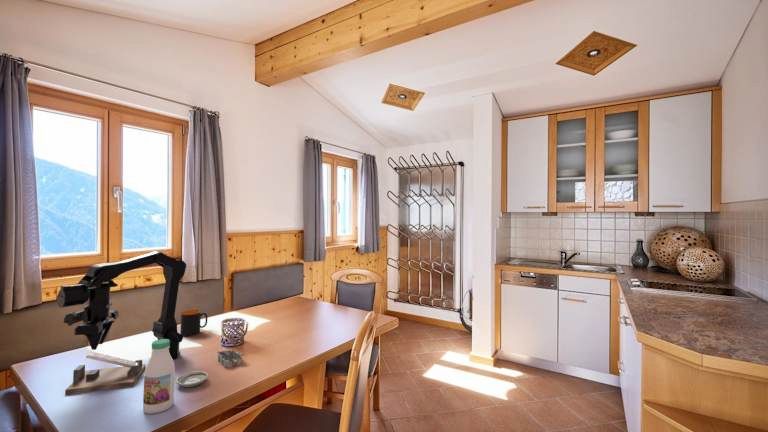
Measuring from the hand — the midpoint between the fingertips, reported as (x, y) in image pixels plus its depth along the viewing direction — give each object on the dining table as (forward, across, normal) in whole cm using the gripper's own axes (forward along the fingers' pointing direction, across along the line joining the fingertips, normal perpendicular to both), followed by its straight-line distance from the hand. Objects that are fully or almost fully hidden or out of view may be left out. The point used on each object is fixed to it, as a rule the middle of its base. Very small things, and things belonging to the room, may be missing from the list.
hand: (97, 346), depth 115 cm
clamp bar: (+6, 0, +5) cm, 8 cm away
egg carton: (+12, -4, +42) cm, 43 cm away
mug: (+12, -44, +24) cm, 51 cm away
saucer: (+12, +11, +30) cm, 35 cm away
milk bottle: (+12, +24, +24) cm, 36 cm away
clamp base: (+12, 0, +4) cm, 12 cm away
